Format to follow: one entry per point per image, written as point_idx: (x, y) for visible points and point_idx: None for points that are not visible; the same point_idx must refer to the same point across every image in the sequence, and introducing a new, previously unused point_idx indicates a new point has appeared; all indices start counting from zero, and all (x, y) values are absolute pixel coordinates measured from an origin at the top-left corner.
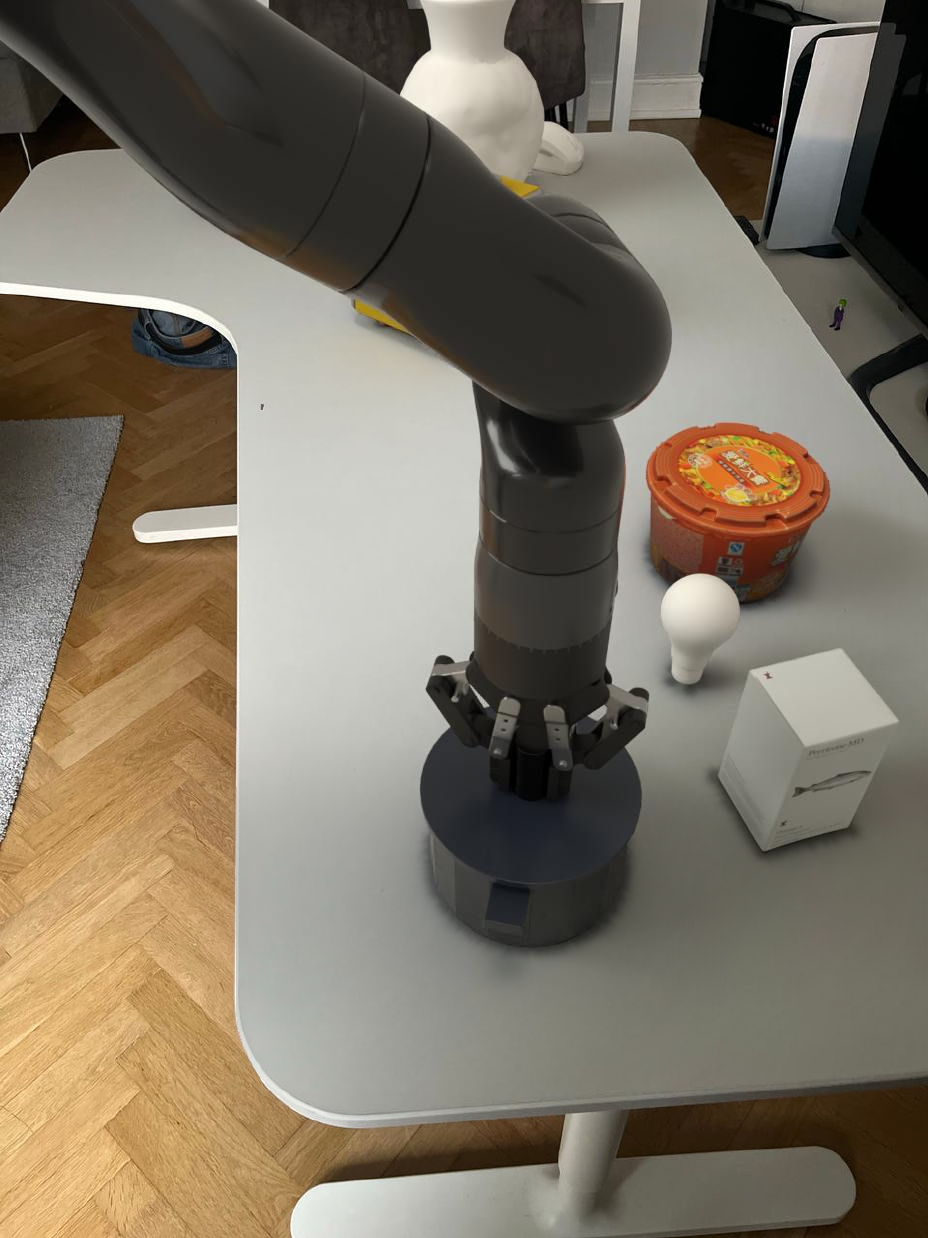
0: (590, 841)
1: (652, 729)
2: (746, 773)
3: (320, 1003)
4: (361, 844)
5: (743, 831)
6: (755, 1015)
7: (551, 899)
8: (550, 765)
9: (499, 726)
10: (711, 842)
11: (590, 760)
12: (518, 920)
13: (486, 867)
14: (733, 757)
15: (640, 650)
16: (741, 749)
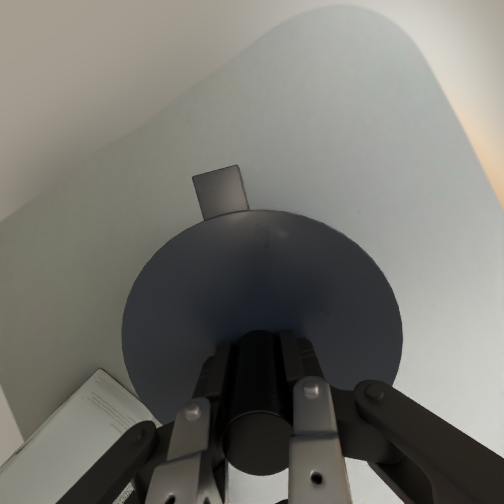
0: (158, 310)
1: None
2: (105, 436)
3: (363, 89)
4: (395, 242)
5: (120, 378)
6: (53, 245)
7: None
8: (221, 397)
9: (333, 492)
10: None
11: (136, 444)
12: (200, 184)
13: (259, 220)
14: None
15: (253, 493)
16: None
